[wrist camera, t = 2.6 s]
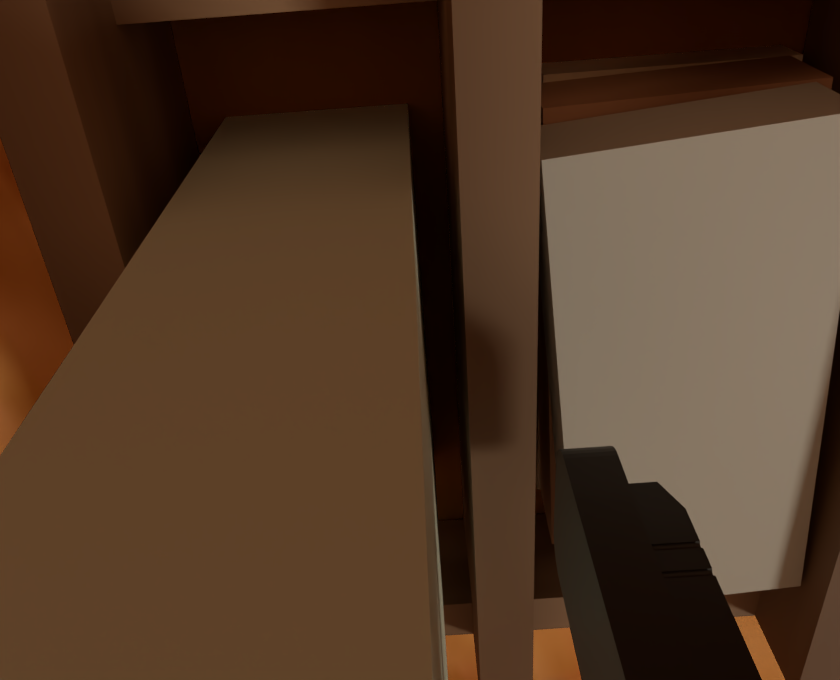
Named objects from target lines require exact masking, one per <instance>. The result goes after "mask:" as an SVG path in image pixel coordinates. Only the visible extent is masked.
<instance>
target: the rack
mask: <svg viewBox="0 0 840 680" xmlns="http://www.w3.org/2000/svg"><path fill="white" fill-rule="evenodd" d="M422 1H435V0H0V138H1V141H2V143H3V146H4V149H5V152H6V155H7V157H8V160H9V163H10V166H11V169H12V172H13V174H14V177H15V180H16V183H17V186H18V188H19V191H20V194H21V197H22V200H23V203H24V205H25V208H26V211H27V214H28V217H29V219H30V222H31V225H32V228H33V231H34V234H35V236H36V239H37V242H38V245H39V248H40V250H41V253H42V256H43V259H44V262H45V265H46V267H47V270H48V273H49V276H50V279H51V282H52V284H53V287H54V290H55V293H56V296H57V298H58V301H59V304H60V307H61V310H62V313H63V315H64V318H65V321H66V324H67V327H68V329H69V332H70V335H71V338H72V341H73V344H75V343H76V341H77V340H78V338H79V337H80V335H81V334H82V332H83V331H84V329H85V328H86V326H87V325H88V323H89V322H90V320H91V319H92V317H93V316H94V314H95V313H96V311H97V310H98V308H99V307H100V305H101V304H102V302H103V301H104V299H105V298H106V296H107V295H108V293H109V292H110V290H111V289H112V287H113V286H114V284H115V283H116V281H117V280H118V278H119V277H120V275H121V274H122V272H123V271H124V269H125V268H126V266H127V265H128V263H129V262H130V260H131V259H132V257H133V256H134V254H135V253H136V251H137V250H138V248H139V247H140V245H141V244H142V242H143V241H144V239H145V238H146V236H147V235H148V233H149V232H150V230H151V229H152V227H153V226H154V224H155V223H156V221H157V220H158V218H159V217H160V215H161V214H162V212H163V211H164V209H165V208H166V206H167V205H168V203H169V202H170V200H171V199H172V197H173V196H174V194H175V193H176V191H177V190H178V188H179V187H180V185H181V184H182V182H183V181H184V179H185V178H186V176H187V175H188V173H189V172H190V170H191V169H192V167H193V166H194V164H195V163H196V161H197V160H198V158H199V153H198V148H197V144H196V139H195V135H194V130H193V125H192V121H191V116H190V112H189V107H188V103H187V98H186V94H185V89H184V85H183V80H182V76H181V71H180V67H179V62H178V58H177V53H176V49H175V44H174V40H173V35H172V31H171V26H170V22H169V21H173V20H186V19H199V18H212V17H225V16H238V15H252V14H265V13H278V12H291V11H304V10H317V9H330V8H343V7H357V6H370V5H383V4H396V3H409V2H422ZM437 10H438V30H439V49H440V69H441V88H442V108H443V127H444V146H445V166H446V185H447V205H448V224H449V244H450V263H451V282H452V302H453V321H454V341H455V360H456V379H457V399H458V418H459V438H460V457H461V477H462V496H463V515H464V519H460V520H445V521H438V528H439V544H440V560H441V577H442V593H443V609H444V625H445V635H460V634H474V643H475V653H476V663H477V673H478V680H533V630H537V629H553V628H568V627H570V625H569V621H568V617H567V612H566V608H565V603H564V599H563V594H562V590H561V586H560V581H559V577H558V571H557V565H556V558H555V548H554V544H552V543H551V538H550V533H549V529H548V524H547V519H546V514H535V483H536V414H537V345H538V276H539V206H540V137H541V68H542V0H437ZM802 62H804V63H806V64H808V65H810V66H812V67H814V68H816V69H818V70H820V71H822V72H824V73H826V74H828V75H830V76H832V77H833V82H832V88H831V90H833V91H835V92H837V93H838V94H840V0H813V4H812V10H811V15H810V21H809V26H808V32H807V37H806V43H805V48H804V53H803V59H802ZM724 596H725V598H726V600H727V603H728V605H729V607H730V609H731V612H732V614H733V616H734V617H738V616H753V615H755V616H756V618H757V620H758V623H759V625H760V627H761V629H762V631H763V633H764V635H765V637H766V639H767V642H768V644H769V646H770V648H771V650H772V652H773V654H774V656H775V658H776V661H777V663H778V665H779V667H780V669H781V671H782V673H783V675H784V677H785V680H840V313H839V320H838V327H837V334H836V341H835V348H834V355H833V362H832V369H831V376H830V383H829V390H828V397H827V404H826V411H825V418H824V425H823V432H822V439H821V446H820V453H819V460H818V467H817V474H816V481H815V488H814V496H813V503H812V510H811V517H810V524H809V531H808V538H807V545H806V552H805V559H804V566H803V573H802V580H801V586H797V587H788V588H780V589H771V590H762V591H754V592H745V593H736V594H728V595H724Z"/></svg>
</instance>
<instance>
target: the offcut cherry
mask: <svg viewBox="0 0 840 680" xmlns="http://www.w3.org/2000/svg"><path fill="white" fill-rule="evenodd" d="M810 82H818V83H820V84H822V85H823V86H825V87H827V88H829V89H831V88H832V82H833V77H832V76H830V75H828V74H826V73H824V72H822V71H820V70H818V69H816V68H814V67H812V66H810V65H808V64H806V63H804V62H802V61H800V60H798V59H796V58H794V57H792V56H790V55H788V56H779V57H770V58H761V59H752V60H742V61H733V62H724V63H715V64H706V65H696V66H687V67H678V68H669V69H660V70H651V71H642V72H633V73H624V74H615V75H606V76H597V77H589V78H580V79H571V80H562V81H553V82H544V83H543V82H541V125H546V124H552V123H559V122H565V121H571V120H577V119H584V118H590V117H596V116H603V115H609V114H615V113H622V112H628V111H634V110H640V109H647V108H653V107H659V106H666V105H672V104H678V103H684V102H691V101H697V100H703V99H710V98H716V97H722V96H729V95H735V94H741V93H747V92H754V91H760V90H766V89H773V88H779V87H785V86H792V85H798V84H804V83H810ZM537 370H538V404H539V438H540V472H541V496H542V500H543V505H544V510H545V514H546V519H547V524H548V529H549V533H550V538H551V543H552V544H554V504H555V473H556V462H555V451H554V439H553V427H552V416H551V404H550V392H549V381H548V369H547V358H546V346H545V334H544V323H543V311H542V299H541V288H540V276H538V345H537Z"/></svg>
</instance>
